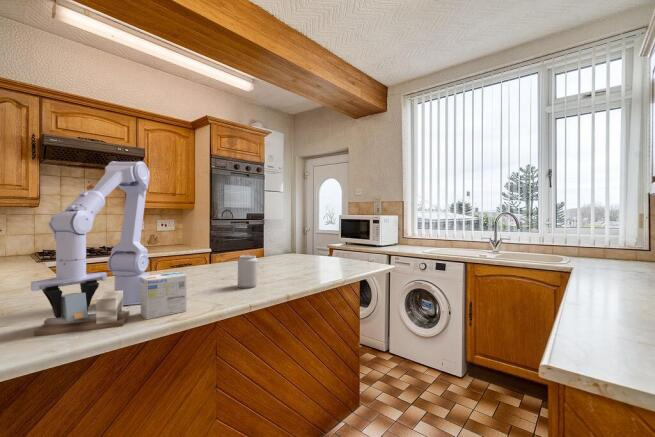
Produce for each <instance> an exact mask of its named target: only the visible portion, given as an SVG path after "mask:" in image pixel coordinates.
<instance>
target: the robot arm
mask: <svg viewBox="0 0 655 437" xmlns="http://www.w3.org/2000/svg"><path fill="white" fill-rule="evenodd" d="M104 172H105V173H104V174H103V175H102V177H100V179H99V180H98V182H97V183H96V184H95V186H94V187H92V189H91V190H89V189H88V190H84V191H80V192H79V193H78V196H77V197H76V198H75V199H74V200H73V201H72V202H71V203H70V204H68V205H67V207H66V208H65V209H64V210H60V211H58V212H56V213H55V214H53V215H52V217H51V219H50V222H48V227H49V230H50V231H51V232H52V234H53V240H54V241H55V260H56V261H55V264H56V265H55V269H56V270H55V271H56V272H55V277H52V278H47V279H45V278H44V279H41V280H40V279H39V280H35V281H31V282H30V291H32V292H38V291H42V293H43V295H45V297H46V299H47V300H48V302H49V304H50V306H51V308H52V312H53V316H54V317H53V318H60V317H61V296H62V295H63V290H61V289H60V288H61V287H65V286H66V287H67V286H73V285H74V286H75V285H79V286H80V293H86V302H87V312H89V308H90V305H91V301H92V299H93V297H94V295H95V293H96V291H97V290H98V288H99V286H100V283H99V282H100V281H103V282H104V281H107V280H108V273H107V272H104V271H103V272H92V273H91V272H90V273H87V233H89V232H90V231H91V230H92V229H93V225H94V220H95V218H96V216H97V215H98V214H99V212H100V211H101V210H102V209H103V208H104V206H105V205H106V197H107V196H109V194H110V193H112V192H113V191H114V190H115V189H116V188H117V187H118V188H119V189H120V190H123V191H124V192H125V195H126V196H125V203H124V210H123V219H122V226H121V234H120V241H119V242H118V243H117V244H116V245H115V246H113V247H112V248H111V251H110V255H109V257H108V259H107V264H106V265H107V268H108V270H109V271H110V272H111V275H112V276H114V291H122V290H123V306H131V305H132V306H133V305H141V298H140V277H141V276H150V273H148V272H146V273H145V271H146V270H147V269H148V267H149V262H150V261H149V255H148V251H149V250H148V249H147V248H146V247H145V246H144V245H142V244H141V237H142V228H143V220H144V213H145V205H146V196H147V190H148V189H149V182H150V176H151V175H150V173H151V172H150V170H149V168H148V166H147V165H146V163H145V162H144V161H142V160H139V161H116V160H115V161H114V160H112V161H110V162H109V163H108V164H107V165H106V166H105V167H104ZM98 281H99V282H98Z"/></svg>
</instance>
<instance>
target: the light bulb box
mask: <svg viewBox="0 0 655 437" xmlns="http://www.w3.org/2000/svg"><path fill="white" fill-rule="evenodd" d="M149 275H150V274H149ZM140 298H141V304H140V315H141V316H142V317H143V318H144V319H145V320H151V319H155V318H160V317H165V316H170V315H173V314H179V313H183V312H187V311H188V310H187V308H188V307H187V274H186V273H183V272H181V271H175V272H168V273H160V274H152V275H150V276H141V277H140Z"/></svg>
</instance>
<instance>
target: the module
mask: <svg viewBox="0 0 655 437" xmlns="http://www.w3.org/2000/svg"><path fill="white" fill-rule="evenodd" d="M88 314H89V311H87V302H86V293H81V292H73V293H67V294H62V296H61V317H65V322H70V321H74V320H78V319H82V318H85V317H88Z"/></svg>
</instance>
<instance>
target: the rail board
mask: <svg viewBox="0 0 655 437" xmlns="http://www.w3.org/2000/svg"><path fill="white" fill-rule="evenodd" d="M95 302H96V307H95V308H96V310H95V311H96V312H95V313H88V317H85V318H82V319H78V320H74V321H70V322H65V317H60V318H56V317H48V318H46V319H45V320H44V321H43V325H41V326H40V327H39V328H37V329H36V330H35V331H34V334H33V335H34V337H37V336H46V335H53V334H54V335H55V334H63V333H71V332H81V331H89V330H98V329H107V328H116V327H123V326H124V325H125V322H126V321H127V319H128V318H129V317H130V315H131V314H130V311H129V310H128V311H127V310H126V311H125V310H124V309H123V308H124V305H123V290H122V291H115V290H110V291H109V290H108V291H104V292H103V293H102V294H101V295H100V296H99V297H98V298H96V301H95Z"/></svg>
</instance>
